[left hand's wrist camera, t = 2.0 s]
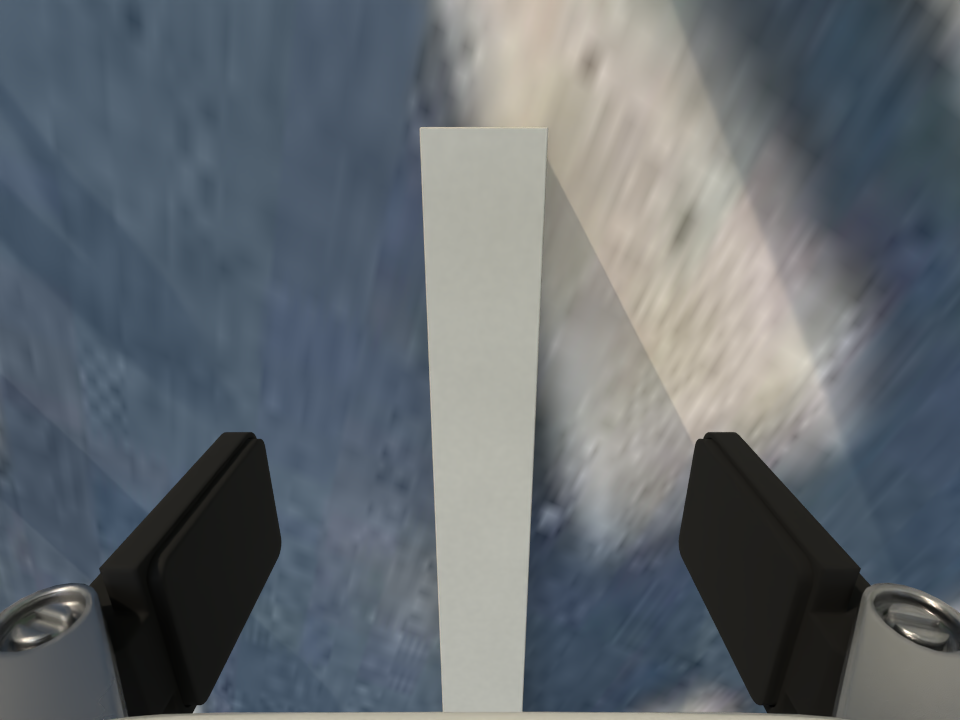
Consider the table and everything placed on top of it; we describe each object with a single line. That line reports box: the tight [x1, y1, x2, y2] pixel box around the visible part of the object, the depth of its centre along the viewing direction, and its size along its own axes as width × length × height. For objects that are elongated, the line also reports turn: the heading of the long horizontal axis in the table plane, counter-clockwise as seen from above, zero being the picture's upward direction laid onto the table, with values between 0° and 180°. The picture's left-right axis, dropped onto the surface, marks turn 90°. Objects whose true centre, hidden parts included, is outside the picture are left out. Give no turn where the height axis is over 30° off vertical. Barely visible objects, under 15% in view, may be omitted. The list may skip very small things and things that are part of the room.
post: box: [420, 127, 548, 712], centre depth 39 cm, size 73×5×7 cm, turn 0°
